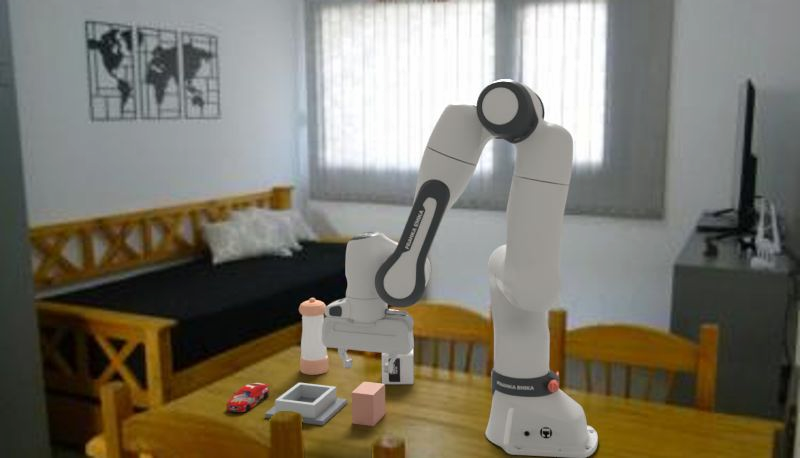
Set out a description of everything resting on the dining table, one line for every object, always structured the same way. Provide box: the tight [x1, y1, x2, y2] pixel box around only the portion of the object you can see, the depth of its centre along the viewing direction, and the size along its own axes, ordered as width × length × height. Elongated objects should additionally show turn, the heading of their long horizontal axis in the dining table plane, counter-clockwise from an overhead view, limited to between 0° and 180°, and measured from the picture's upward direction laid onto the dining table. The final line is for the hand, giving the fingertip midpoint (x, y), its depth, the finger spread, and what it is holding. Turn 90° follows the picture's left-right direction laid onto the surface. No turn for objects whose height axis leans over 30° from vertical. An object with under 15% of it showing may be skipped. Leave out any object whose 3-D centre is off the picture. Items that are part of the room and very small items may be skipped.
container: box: [381, 348, 415, 385], centre depth 189 cm, size 8×8×13 cm
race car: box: [226, 382, 270, 413], centre depth 176 cm, size 13×5×4 cm, turn 159°
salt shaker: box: [298, 297, 329, 376], centre depth 196 cm, size 7×7×19 cm
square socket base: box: [264, 382, 348, 426], centre depth 171 cm, size 14×13×4 cm
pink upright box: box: [351, 381, 386, 427], centre depth 166 cm, size 5×7×7 cm
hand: (368, 369), depth 165 cm, fingers open, 8 cm apart
